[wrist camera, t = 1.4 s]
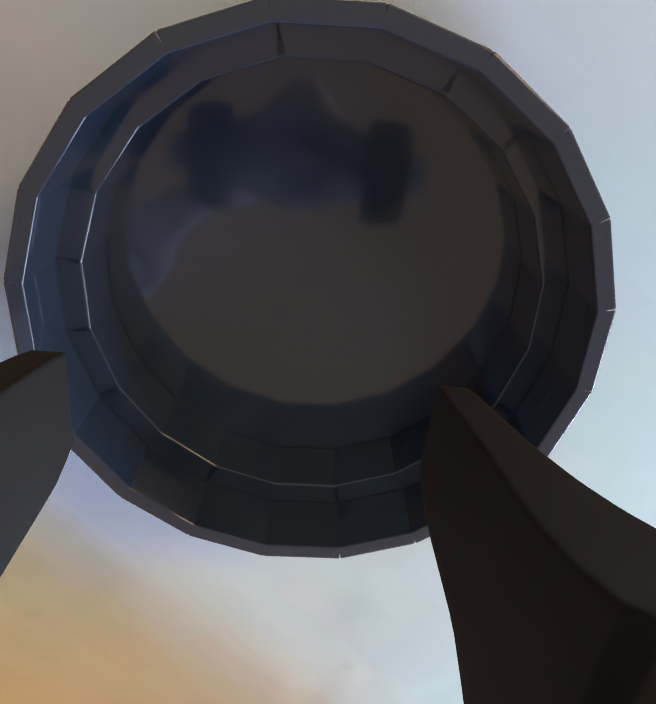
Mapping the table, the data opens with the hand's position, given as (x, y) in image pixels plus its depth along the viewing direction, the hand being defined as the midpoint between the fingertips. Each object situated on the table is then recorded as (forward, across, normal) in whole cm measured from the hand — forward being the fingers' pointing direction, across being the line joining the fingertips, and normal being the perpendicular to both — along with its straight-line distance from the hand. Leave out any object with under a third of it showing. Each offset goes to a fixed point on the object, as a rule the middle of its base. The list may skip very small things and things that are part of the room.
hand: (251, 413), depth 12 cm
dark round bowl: (+10, -1, +1) cm, 10 cm away
